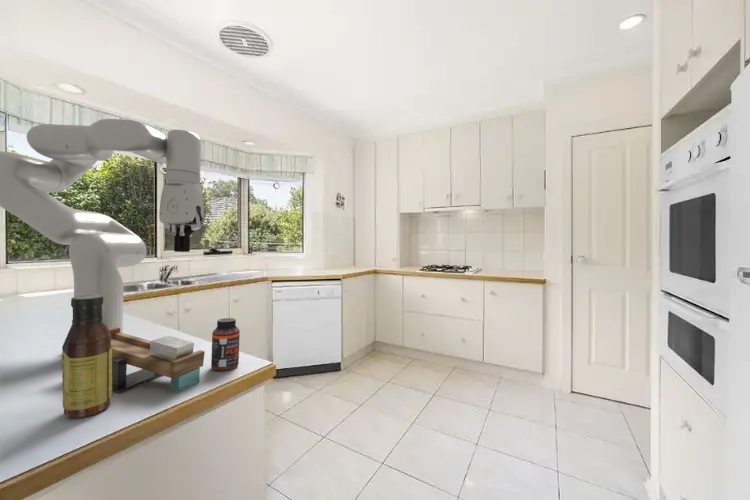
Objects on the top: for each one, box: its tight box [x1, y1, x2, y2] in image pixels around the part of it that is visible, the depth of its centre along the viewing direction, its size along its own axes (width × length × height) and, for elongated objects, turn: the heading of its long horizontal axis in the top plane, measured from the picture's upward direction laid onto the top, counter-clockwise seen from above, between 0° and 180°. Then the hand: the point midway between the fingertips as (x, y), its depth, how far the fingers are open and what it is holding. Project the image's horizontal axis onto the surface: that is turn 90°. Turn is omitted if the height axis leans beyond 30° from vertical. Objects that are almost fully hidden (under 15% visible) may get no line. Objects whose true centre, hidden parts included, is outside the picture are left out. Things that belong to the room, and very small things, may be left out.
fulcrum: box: [112, 357, 201, 394], centre depth 67 cm, size 26×13×6 cm, turn 74°
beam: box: [109, 327, 206, 379], centre depth 67 cm, size 26×8×6 cm, turn 74°
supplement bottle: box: [210, 317, 241, 372], centre depth 74 cm, size 6×6×11 cm
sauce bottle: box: [61, 295, 113, 419], centre depth 53 cm, size 6×6×20 cm
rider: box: [149, 335, 195, 363], centre depth 65 cm, size 7×4×4 cm, turn 74°
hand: (182, 251), depth 80 cm, fingers closed
